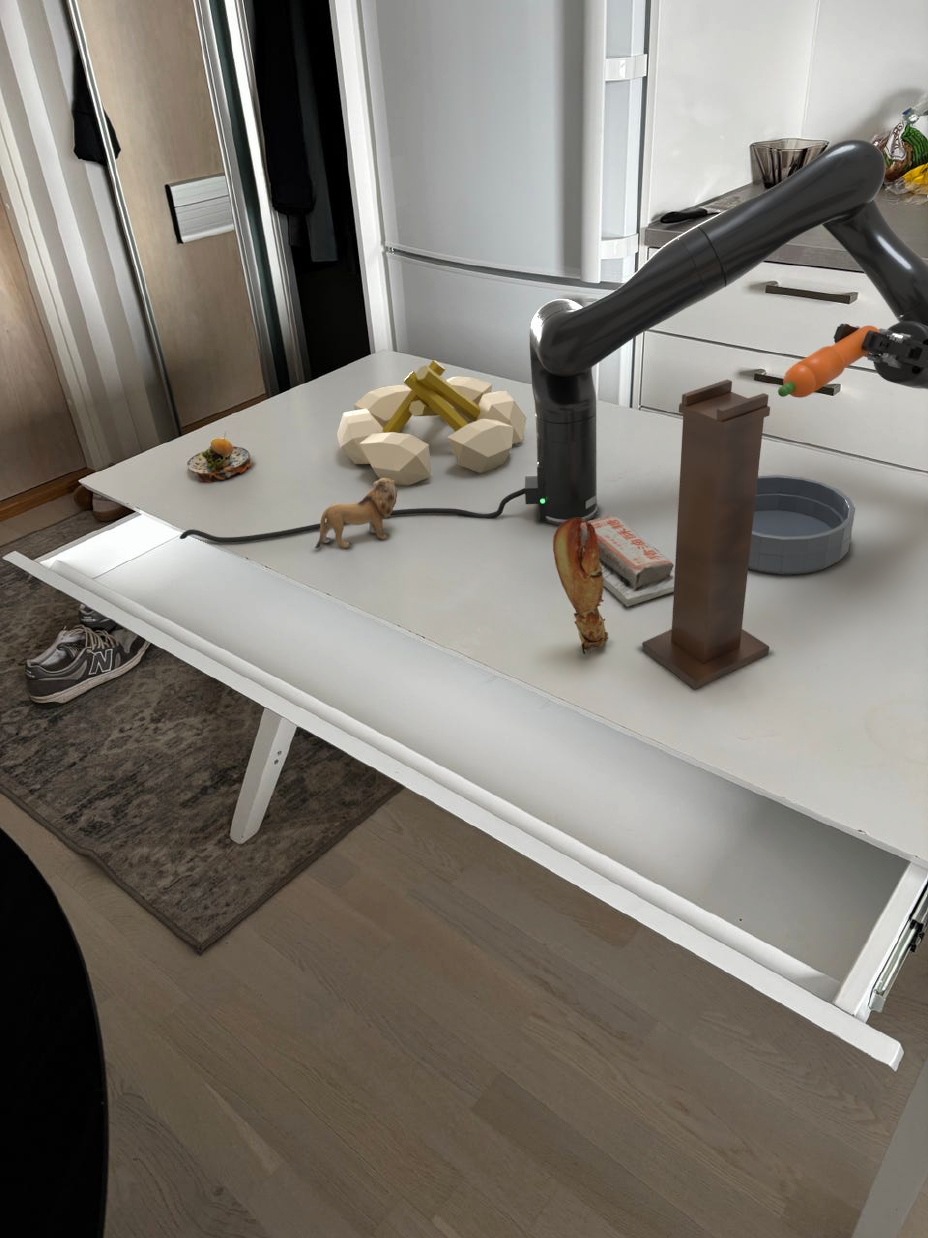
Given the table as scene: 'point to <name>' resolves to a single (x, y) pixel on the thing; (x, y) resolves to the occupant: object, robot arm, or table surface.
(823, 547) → the bowl
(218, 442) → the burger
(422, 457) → the campfire
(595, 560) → the crab claw
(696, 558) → the stand
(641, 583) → the packaged product
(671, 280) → the robot arm
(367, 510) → the lion figurine
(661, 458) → the table surface
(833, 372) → the carrot
